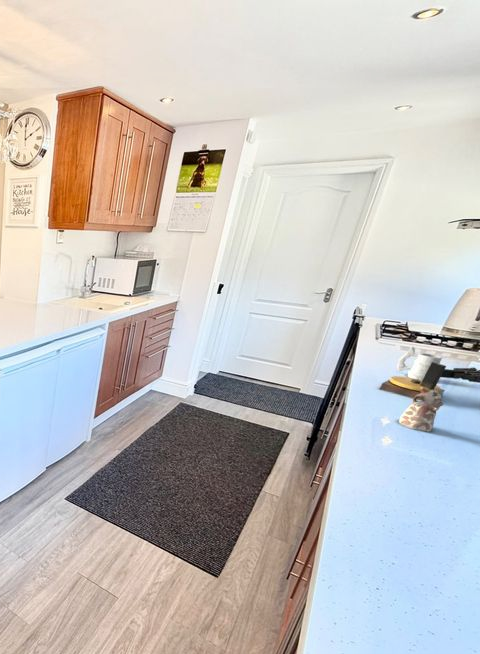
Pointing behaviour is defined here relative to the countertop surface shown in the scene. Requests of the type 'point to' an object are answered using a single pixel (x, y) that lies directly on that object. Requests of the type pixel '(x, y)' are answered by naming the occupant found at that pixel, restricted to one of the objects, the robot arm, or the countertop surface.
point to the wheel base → (403, 390)
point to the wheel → (427, 382)
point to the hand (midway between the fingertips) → (439, 373)
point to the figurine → (422, 411)
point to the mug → (417, 363)
